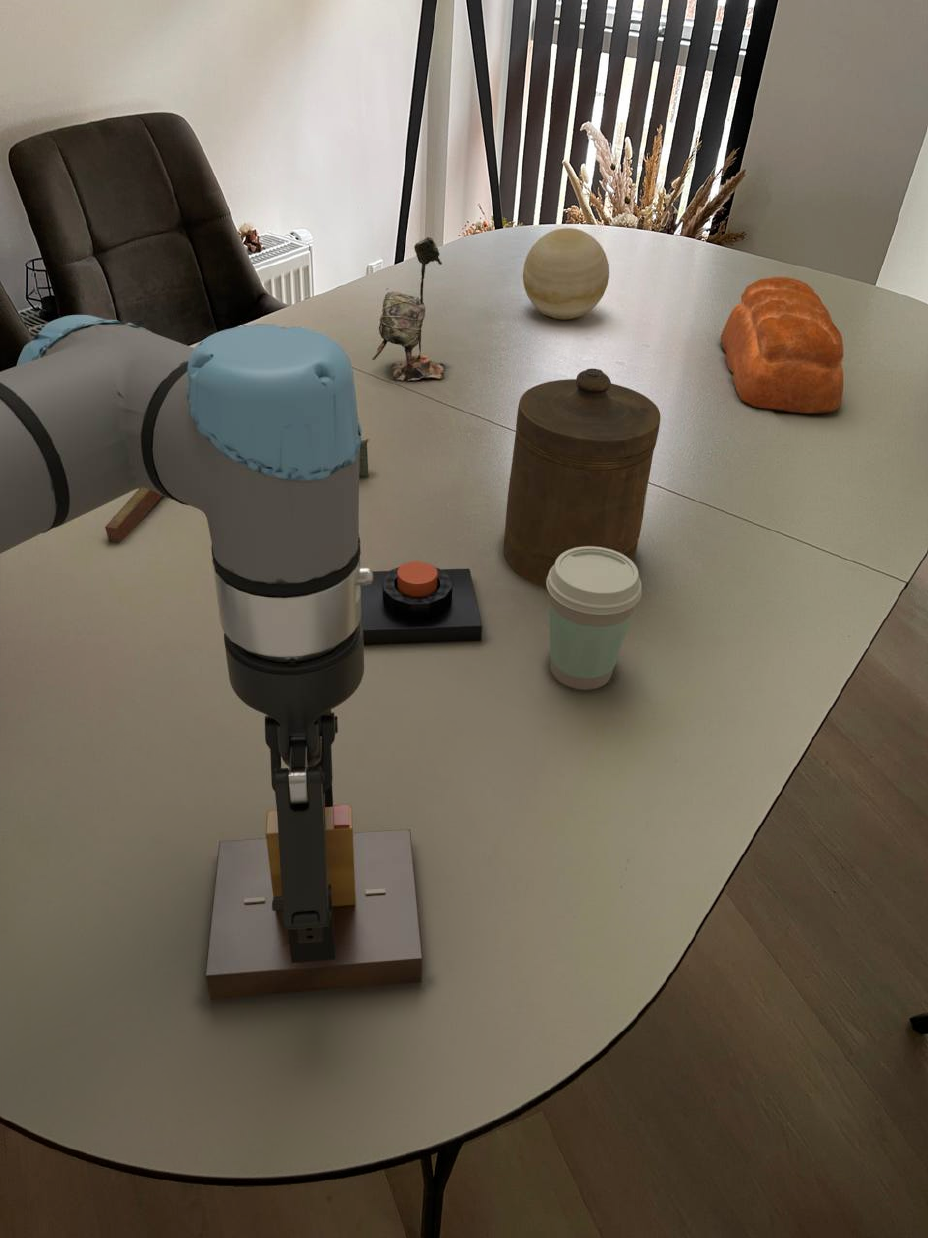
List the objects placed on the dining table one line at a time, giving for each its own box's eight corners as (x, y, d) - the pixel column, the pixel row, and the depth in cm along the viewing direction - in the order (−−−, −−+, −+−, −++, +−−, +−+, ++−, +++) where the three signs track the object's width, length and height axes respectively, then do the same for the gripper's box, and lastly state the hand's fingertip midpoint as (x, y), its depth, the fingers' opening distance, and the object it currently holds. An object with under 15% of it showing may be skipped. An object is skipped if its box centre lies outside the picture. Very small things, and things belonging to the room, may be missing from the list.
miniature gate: (68, 508, 103) (189, 383, 125) (80, 549, 107) (196, 421, 129) (301, 548, 99) (385, 412, 121) (306, 589, 103) (386, 449, 125)
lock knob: (274, 911, 65) (264, 831, 60) (275, 887, 66) (266, 807, 61) (355, 905, 65) (352, 826, 60) (354, 881, 67) (351, 802, 62)
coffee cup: (642, 673, 91) (664, 570, 84) (587, 714, 86) (605, 609, 79) (574, 633, 96) (589, 532, 89) (517, 669, 91) (528, 566, 84)
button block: (359, 648, 93) (358, 615, 90) (356, 588, 101) (355, 557, 98) (481, 643, 94) (483, 610, 92) (468, 585, 102) (470, 554, 100)
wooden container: (660, 560, 108) (697, 376, 94) (575, 611, 99) (604, 416, 86) (561, 509, 116) (583, 332, 103) (475, 552, 107) (487, 365, 94)
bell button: (398, 598, 93) (398, 584, 92) (396, 575, 96) (396, 561, 95) (439, 597, 94) (439, 582, 93) (435, 574, 97) (435, 560, 96)
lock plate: (210, 1002, 63) (204, 974, 61) (223, 867, 71) (219, 839, 69) (421, 984, 64) (422, 957, 62) (409, 854, 73) (410, 827, 71)
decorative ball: (613, 312, 173) (625, 226, 164) (588, 338, 162) (599, 247, 153) (536, 297, 178) (544, 213, 169) (506, 321, 167) (513, 232, 158)
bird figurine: (382, 359, 151) (381, 227, 139) (451, 368, 149) (456, 235, 137) (367, 378, 144) (365, 242, 132) (439, 388, 143) (444, 251, 131)
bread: (738, 410, 141) (758, 324, 133) (716, 335, 166) (732, 258, 158) (845, 419, 140) (872, 333, 132) (806, 342, 165) (827, 265, 157)
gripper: (372, 781, 42) (377, 1038, 55) (356, 507, 61) (363, 747, 74) (200, 791, 41) (247, 1050, 55) (238, 510, 60) (265, 752, 74)
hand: (314, 875), depth 65 cm, fingers open, 12 cm apart
